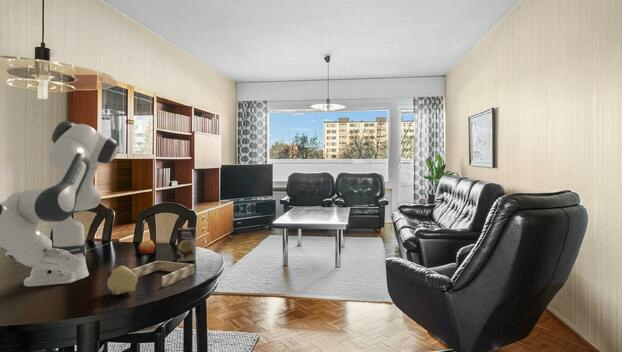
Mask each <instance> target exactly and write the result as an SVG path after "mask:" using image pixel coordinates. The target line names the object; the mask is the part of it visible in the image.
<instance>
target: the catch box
mask: <svg viewBox="0 0 622 352" xmlns="http://www.w3.org/2000/svg"><path fill="white" fill-rule="evenodd" d="M195 266H196V265H195V264H194V263H185V262H177V261H176V262H175V261H174V262H173V261H167V260H166V261H165V260H156V261H152V262H150V263H147V264H144V265H141V266H138V267H135V268H132V269H130V270H131V271H133V272H134V273H135V275H136V276H137V278H141V277H144V276H145V275H148V274H150V273H153V272H156V271H163V272H171V273H168V274H165V275H162V276H161V288H165V287H167V286H170V285H172V284H174V283H176V282H178V281H181V280H183V279H186V278H187V277H189V276H192V275H194V274H195V273H196V271H195V269H196V267H195Z"/></svg>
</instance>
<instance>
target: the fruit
mask: <svg viewBox="0 0 622 352" xmlns="http://www.w3.org/2000/svg"><path fill="white" fill-rule="evenodd" d="M138 249H139V251H140V253H141V254H142V255H150V254H153V253H154V252H155V249H156V244H155V242H154V241H153V240H151V239H149V240H144V241H142V242H141V243H140V244H139V246H138Z"/></svg>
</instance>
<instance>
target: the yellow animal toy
mask: <svg viewBox="0 0 622 352" xmlns="http://www.w3.org/2000/svg"><path fill="white" fill-rule="evenodd" d="M131 270H132V269H130V268H128V267H127V266H125V265H120V266H117V267H116V268H115V269H112V271H109V272H108V273H107V287H108V289H109V290H110V291H111V293H112V295H113V296H114V295H116V296H117V295H118V296H119V295H120V294H126V293H129V292H134V291H136V286H137V283H138V280H139V279H138V278H139V277H138V278H137V276H136V275H135V273H134V272H133V271H131Z"/></svg>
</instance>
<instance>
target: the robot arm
mask: <svg viewBox="0 0 622 352" xmlns="http://www.w3.org/2000/svg"><path fill="white" fill-rule="evenodd" d="M51 141H52V142H53V145H52V146H51V148H50V150H49V153H48V157H49V159H48V160H49V161H50V163H51V165H52V166H54V168H55V169H57V170H58V171H59V172H61V173H62V175H61V177H60V178H59V180H58V182H57V183H56V184H54V185H52V186H48V187H45V188H39V189H32V190H25V191H20V192H16V193H13V194H12V195H10V196H8V198H7V199H6V200H5V201H2V202H0V248H3V249H4V250H6V252H5V254H4V255H5V256H6V257H7V258H8V259H12V260H15V261H17V262H18V263H20V264H22V265H23V266H26V267H30V268H31V271H30V274H29V275H30V276H28V277H26V278H25V279H24V280H23V286H25V287H38V286H39V287H40V286H50V285H59V284H71V283H73V282H76V281H79V280H81V279H85V278H86V277H88V276H89V275H90V273H89V270H88V266H87V262H86V254H87V245H86V242H85V226H84V224H83V223H82V222H81V221H78V220H76V219H74V218H73V217H72V215H73V213H74V212H79V211H80V212H81V211H88V210H91V209H95V208H97V207H98V206H99V204H100V203H101V199H102V195H101V191H100V190H99V189H98V188H97V187H96V186H95V185H94V181H95V180H94V179H95V177H96V176H95V175H96V173H97V171H98V168H99V166H100V164H109V163H111V161H113V160H114V159H115V158H116V157H117V155H118V152H119V143H118V141H116V140H115V139H114V138H112V137H109V136H107V135H105V133H102V132H99V131H97V130H95V128H93V127H92V126H90V125H88V124H86V123H85V124H84V123H77V124H76V123H75V122H73V121H70V120H69V121H67V120H64V121H61V122H59V123H58V124H57V125H56V126H55V127H54V129H53V130H52V134H51ZM41 223H49V224H50V225H51V228H52V229H51V230H52V237H53V238H52V239H50V238H49V237H48V236H47V235H46V234H44V233H43V232H42V231H40V230H39V229H38V228H37V226H38V225H39V224H41Z"/></svg>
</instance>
